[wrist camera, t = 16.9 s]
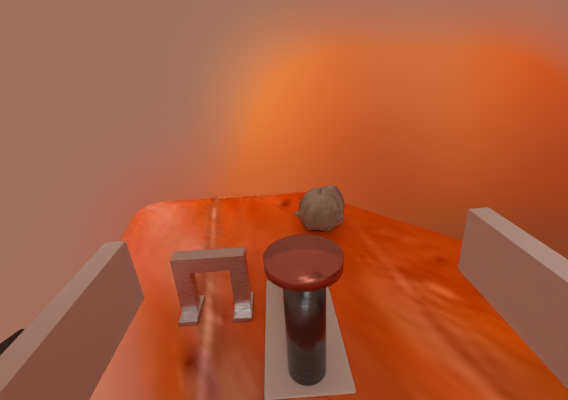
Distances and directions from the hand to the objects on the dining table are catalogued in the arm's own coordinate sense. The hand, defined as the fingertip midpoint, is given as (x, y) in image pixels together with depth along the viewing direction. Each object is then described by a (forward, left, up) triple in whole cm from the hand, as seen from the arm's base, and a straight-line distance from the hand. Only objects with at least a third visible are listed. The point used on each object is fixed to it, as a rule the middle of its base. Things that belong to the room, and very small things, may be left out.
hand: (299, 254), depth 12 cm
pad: (-1, -19, -23) cm, 30 cm away
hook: (-1, -21, -23) cm, 31 cm away
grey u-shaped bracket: (+10, -23, -23) cm, 34 cm away
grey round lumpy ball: (-7, -44, -23) cm, 50 cm away
